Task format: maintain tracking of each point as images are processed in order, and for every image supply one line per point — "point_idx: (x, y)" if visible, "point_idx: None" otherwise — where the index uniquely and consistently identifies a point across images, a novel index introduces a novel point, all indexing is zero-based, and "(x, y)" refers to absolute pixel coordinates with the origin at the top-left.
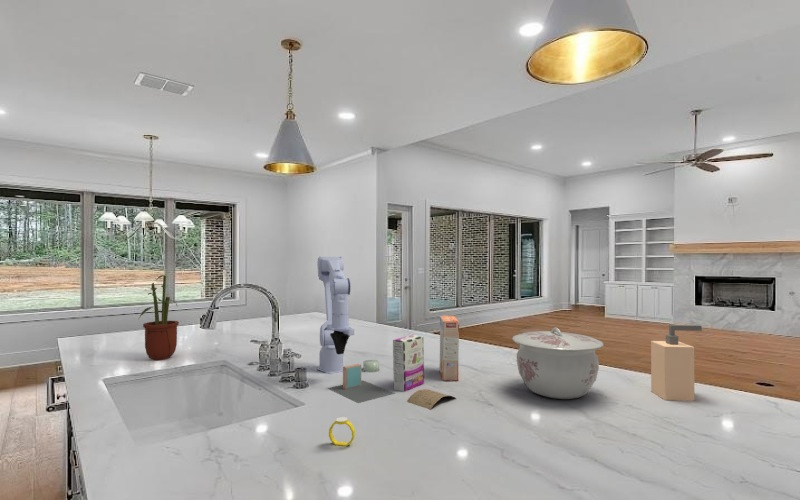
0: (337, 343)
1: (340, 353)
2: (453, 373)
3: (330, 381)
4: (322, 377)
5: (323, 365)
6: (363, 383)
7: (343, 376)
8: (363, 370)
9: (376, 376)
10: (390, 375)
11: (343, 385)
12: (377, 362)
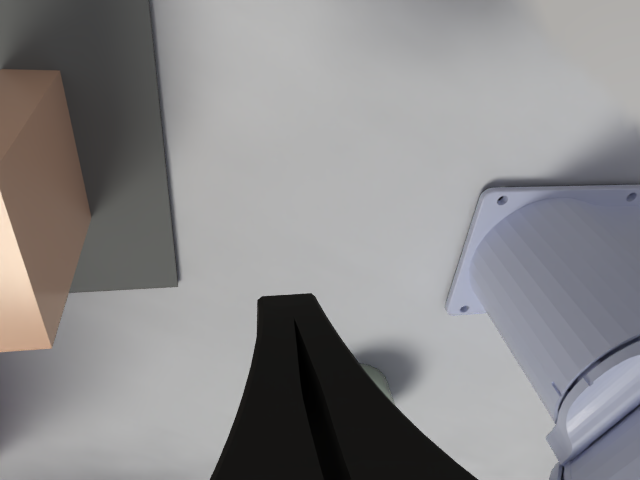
0: (253, 423)
1: (257, 324)
2: None
3: (341, 105)
4: (479, 113)
5: (612, 221)
6: (99, 257)
7: (17, 117)
8: (365, 369)
9: (221, 376)
10: (187, 429)
11: (40, 79)
12: None
